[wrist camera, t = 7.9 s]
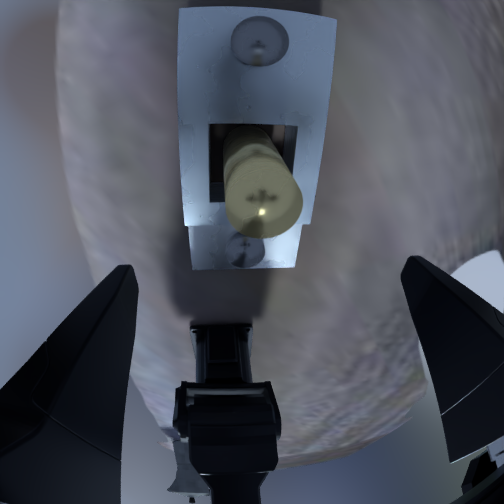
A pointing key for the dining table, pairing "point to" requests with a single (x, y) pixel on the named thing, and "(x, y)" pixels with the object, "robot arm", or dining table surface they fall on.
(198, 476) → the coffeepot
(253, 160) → the pin
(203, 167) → the slotted mounting bracket
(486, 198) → the dining table surface
